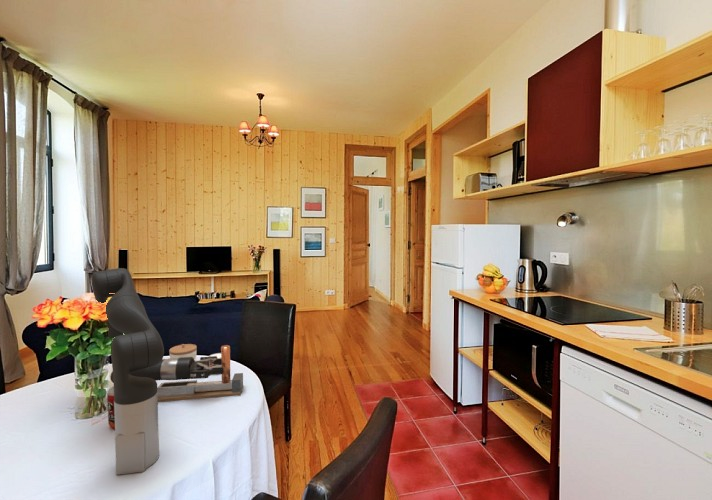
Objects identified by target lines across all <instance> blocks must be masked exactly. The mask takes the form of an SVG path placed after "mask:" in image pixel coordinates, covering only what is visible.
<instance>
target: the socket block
mask: <svg viewBox="0 0 712 500" xmlns="http://www.w3.org/2000/svg"><path fill="white" fill-rule="evenodd" d="M231 380H232V393H236V392H241V390H242V391H243V389H242V387H243V388H244V372H239V373H234V374H233V377H232V379H231ZM241 393H242V392H241Z"/></svg>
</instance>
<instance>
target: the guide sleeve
mask: <svg viewBox="0 0 712 500" xmlns="http://www.w3.org/2000/svg"><path fill="white" fill-rule="evenodd" d="M197 382H198V380H197V379H195V380H194V379H191V380H181V381H180V380H177V381H168V382H166V381H165V382H161V383H160V384H159V385H157V393H158V397H160V398H161V397H174V396H186V395H194V385H187V384H188V383H197Z"/></svg>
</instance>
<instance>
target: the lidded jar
mask: <svg viewBox="0 0 712 500" xmlns="http://www.w3.org/2000/svg"><path fill="white" fill-rule="evenodd" d="M168 352H169V358H180V357H193V358H194V361H196V358H197V345H196V344H192V343H187V344H186V343H185V344H184V343H181V344H178V345H175V346H173V347H171V348H170V349H169V350H168Z"/></svg>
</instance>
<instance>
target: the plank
mask: <svg viewBox="0 0 712 500" xmlns="http://www.w3.org/2000/svg"><path fill="white" fill-rule="evenodd" d="M243 389H244V386H243V387H242V390H241V392H236V393H232V389H228V390H215V391H202V392H194V395H186V396H174V397H161V398H160V397H158V403H164V402H175V401H176V402H178V401H189V400H200V399H203V400H204V399H212V398H215V399H216V398H225V397H228V398H229V397H237V396H241V394H242V393H243Z"/></svg>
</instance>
